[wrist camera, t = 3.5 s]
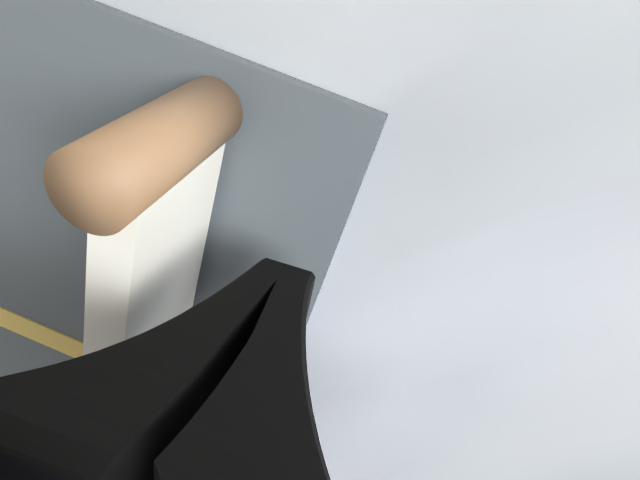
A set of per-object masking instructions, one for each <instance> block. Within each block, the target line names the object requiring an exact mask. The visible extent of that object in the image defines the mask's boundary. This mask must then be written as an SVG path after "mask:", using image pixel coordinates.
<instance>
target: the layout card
mask: <svg viewBox="0 0 640 480" xmlns="http://www.w3.org/2000/svg"><path fill="white" fill-rule="evenodd" d="M201 76H211V77H215V78H218V79H220V80H222V81H224V82H226V83H227V84H228V85H229V86H230V87H231V88H232V89H233V90H234V91H235V93H236V94H237V96H238V98H239V100H240V102H241V105H242V110H243V120H242V124H241V127H240V129H239V131H238V132H237V133H236V134H235V135H234V136H233V137H232V138H231V139H230V140H228V141H227V142H226V144H225V148H224V153H223V158H222V163H221V168H220V173H219V178H218V183H217V188H216V193H215V198H214V203H213V208H212V213H211V218H210V222H209V227H208V232H207V237H206V242H205V247H204V252H203V257H202V262H201V267H200V272H199V277H198V282H197V287H196V292H195V296H194V301H193V306H195V305H197V304H198V303H200V302H202V301H203V300H205V299H207V298H208V297H210V296H211V295H213V294H214V293H216V292H217V291H219V290H220V289H222V288H223V287H225V286H226V285H228V284H229V283H231V282H232V281H234V280H235V279H236V278H238V277H239V276H241V275H242V274H243V273H245V272H246V271H247V270H249V269H250V268H251V267H253V266H254V265H255V264H257V263H258V262H259V261H261V260H262V259H264V258H269V259H272V260H275V261H278V262H282V263H285V264H288V265H292V266H295V267H298V268H301V269H305V270H308V271H311V272H313V274H314V275H315V277H316V278H315V282H314V287H313V291H312V296H311V300H310V305H309V309H308V314H307V318H306V324H307V322H308V319H309V317H310V314H311V311H312V309H313V306H314V304H315V301H316V299H317V296H318V294H319V291H320V288H321V286H322V283H323V281H324V278H325V276H326V273H327V270H328V268H329V265H330V263H331V260H332V258H333V255H334V252H335V250H336V247H337V245H338V242H339V240H340V237H341V234H342V232H343V229H344V227H345V224H346V222H347V219H348V216H349V214H350V211H351V209H352V206H353V204H354V201H355V198H356V196H357V193H358V191H359V188H360V186H361V183H362V180H363V178H364V175H365V173H366V170H367V168H368V165H369V162H370V160H371V157H372V155H373V152H374V150H375V147H376V144H377V142H378V139H379V137H380V134H381V132H382V129H383V127H384V124H385V121H386V119H387V116H388V114H387V113H384V112H381V111H379V110H376V109H374V108H371V107H368V106H366V105H363V104H361V103H358V102H356V101H353V100H350V99H348V98H345V97H343V96H340V95H337V94H335V93H332V92H330V91H327V90H324V89H322V88H319V87H317V86H314V85H312V84H309V83H306V82H304V81H301V80H299V79H296V78H293V77H291V76H288V75H286V74H283V73H281V72H278V71H275V70H273V69H270V68H268V67H265V66H262V65H260V64H257V63H255V62H252V61H249V60H247V59H244V58H242V57H239V56H237V55H234V54H231V53H229V52H226V51H224V50H221V49H218V48H216V47H213V46H211V45H208V44H206V43H203V42H200V41H198V40H195V39H193V38H190V37H187V36H185V35H182V34H180V33H177V32H175V31H172V30H169V29H167V28H164V27H162V26H159V25H156V24H154V23H151V22H149V21H146V20H143V19H141V18H138V17H136V16H133V15H131V14H128V13H125V12H123V11H120V10H118V9H115V8H112V7H110V6H107V5H105V4H102V3H100V2H97V1H94V0H0V377H2V376H6V375H11V374H15V373H19V372H24V371H28V370H32V369H37V368H41V367H45V366H49V365H52V364H56V363H60V362H63V361H66V360H70V359H73V358H77V357H80V356H83V339H84V312H85V284H86V257H87V233H86V232H84V231H82V230H80V229H78V228H76V227H75V226H73V225H72V224H71V223H69V222H68V221H67V220H66V219H65V218H64V217H63V216H62V215H61V214H60V213H59V212H58V211H57V210H56V208H55V207H54V205H53V204H52V202H51V200H50V199H49V197H48V194H47V192H46V189H45V186H44V180H43V170H44V165H45V163H46V160H47V159H48V157H49V156H50V155H51V154H52V153H53V152H55V151H56V150H58V149H60V148H62V147H64V146H66V145H68V144H70V143H72V142H74V141H76V140H77V139H79V138H81V137H83V136H85V135H87V134H89V133H91V132H93V131H95V130H97V129H99V128H101V127H103V126H104V125H106V124H108V123H110V122H112V121H114V120H116V119H118V118H120V117H122V116H124V115H126V114H128V113H130V112H132V111H133V110H135V109H137V108H139V107H141V106H143V105H145V104H147V103H149V102H151V101H153V100H155V99H157V98H159V97H160V96H162V95H164V94H166V93H168V92H170V91H172V90H174V89H176V88H178V87H180V86H182V85H184V84H186V83H188V82H189V81H191V80H193V79H195V78H198V77H201ZM193 306H192V307H193Z"/></svg>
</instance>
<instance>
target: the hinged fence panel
mask: <svg viewBox="0 0 640 480" xmlns="http://www.w3.org/2000/svg"><path fill="white" fill-rule="evenodd" d="M242 120H243V110H242V105H241V102H240V100H239V98H238V96H237V94H236V93H235V91H234V90H233V89H232V88H231V87H230V86H229V85H228V84H227V83H226V82H224V81H222V80H220V79H218V78H215V77H211V76H201V77H198V78H195V79H193V80H191V81H189V82H188V83H186V84H184V85H182V86H180V87H178V88H176V89H174V90H172V91H170V92H168V93H166V94H164V95H162V96H160V97H159V98H157V99H155V100H153V101H151V102H149V103H147V104H145V105H143V106H141V107H139V108H137V109H135V110H133V111H132V112H130V113H128V114H126V115H124V116H122V117H120V118H118V119H116V120H114V121H112V122H110V123H108V124H106V125H104V126H103V127H101V128H99V129H97V130H95V131H93V132H91V133H89V134H87V135H85V136H83V137H81V138H79V139H77V140H76V141H74V142H72V143H70V144H68V145H66V146H64V147H62V148H60V149H58V150H56V151H55V152H53V153H52V154H51V155H50V156H49V157H48V159H47V160H46V163H45V165H44V170H43V180H44V186H45V189H46V192H47V194H48V197H49V199H50V200H51V202H52V204H53V205H54V207H55V208H56V210H57V211H58V212H59V213H60V214H61V215H62V216H63V217H64V218H65V219H66V220H67V221H68V222H69V223H71V224H72V225H73V226H75V227H76V228H78V229H80V230H82V231H84V232H86V233H87V257H86V284H85V312H84V339H83V355H86V354H89V353H92V352H95V351H98V350H101V349H104V348H106V347H109V346H112V345H114V344H117V343H119V342H122V341H124V340H127V339H129V338H132V337H134V336H137V335H139V334H141V333H144V332H146V331H148V330H150V329H152V328H154V327H156V326H158V325H160V324H162V323H164V322H166V321H168V320H170V319H172V318H174V317H176V316H178V315H179V314H181V313H183V312H185V311H186V310H188V309H190V308H191V307H192V306H193V301H194V296H195V292H196V287H197V282H198V277H199V272H200V267H201V262H202V257H203V252H204V247H205V242H206V237H207V232H208V227H209V222H210V218H211V213H212V208H213V203H214V198H215V193H216V188H217V183H218V178H219V173H220V168H221V163H222V158H223V153H224V148H225V144H226V142H227V141H228V140H230V139H231V138H232V137H233V136H234V135H235V134H236V133H237V132H238V131H239V129H240V127H241V124H242Z"/></svg>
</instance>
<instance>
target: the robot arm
mask: <svg viewBox="0 0 640 480" xmlns="http://www.w3.org/2000/svg"><path fill="white" fill-rule="evenodd" d="M315 278H316V277H315V275H314V274H313V272H311V271H308V270H305V269H301V268H298V267H295V266H292V265H288V264H285V263H282V262H278V261H275V260H272V259H269V258H264V259H262V260H261V261H259V262H258V263H257V264H255V265H254V266H253V267H251V268H250V269H249V270H247V271H246V272H245V273H243V274H242V275H241V276H239V277H238V278H236V279H235V280H234V281H232V282H231V283H229V284H228V285H226V286H225V287H223V288H222V289H220V290H219V291H217V292H216V293H214V294H213V295H211V296H210V297H208V298H207V299H205V300H203V301H202V302H200V303H198V304H197V305H195V306H193V307H191V308H190V309H188V310H186V311H185V312H183V313H181V314H179V315H178V316H176V317H174V318H172V319H170V320H168V321H166V322H164V323H162V324H160V325H158V326H156V327H154V328H152V329H150V330H148V331H146V332H144V333H141V334H139V335H137V336H134V337H132V338H129V339H127V340H124V341H122V342H119V343H117V344H114V345H112V346H109V347H106V348H104V349H101V350H98V351H95V352H92V353H89V354H86V355H83V356H80V357H77V358H73V359H70V360H66V361H63V362H60V363H56V364H52V365H49V366H45V367H41V368H37V369H32V370H28V371H24V372H19V373H15V374H11V375H6V376H2V377H0V480H330V477H329V474H328V470H327V467H326V464H325V460H324V457H323V453H322V449H321V446H320V442H319V437H318V433H317V428H316V424H315V419H314V415H313V410H312V404H311V397H310V391H309V383H308V374H307V362H306V318H307V314H308V309H309V305H310V300H311V296H312V291H313V287H314V282H315Z"/></svg>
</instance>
